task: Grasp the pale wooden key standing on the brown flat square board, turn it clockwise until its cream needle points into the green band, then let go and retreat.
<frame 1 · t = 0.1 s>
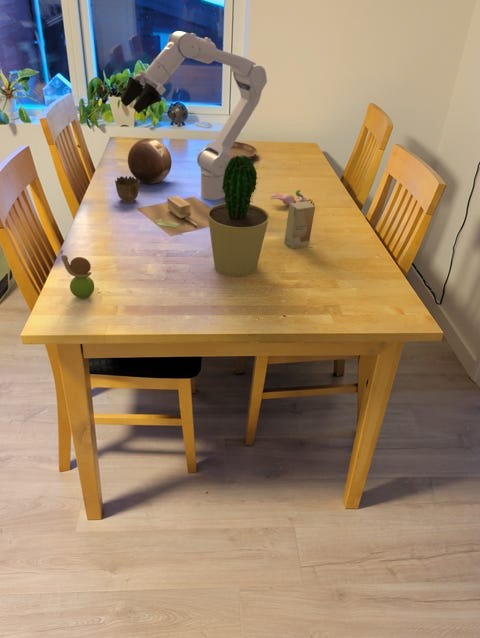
hand: (129, 107, 142), 32 cm above the table, tool tilted 50°, fingers open, 7 cm apart
plant saucer: (231, 157, 213), on the table
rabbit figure: (291, 206, 174), on the table
brown flat square board: (183, 218, 160), on the table
wooden sphere: (150, 182, 184), on the table
snail figurine: (81, 297, 122), on the table
cup: (128, 204, 167), on the table
potted cactus: (235, 267, 137), on the table
peg key: (184, 211, 157), point 3 cm above the table, hinge at 0.0°
skincare box: (296, 244, 150), on the table
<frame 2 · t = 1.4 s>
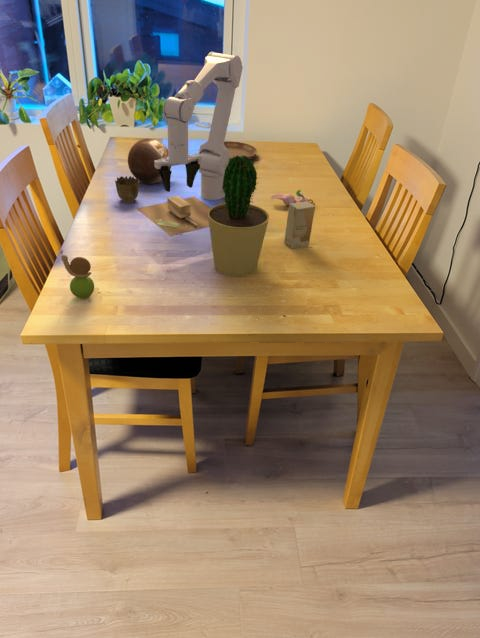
hand: (178, 188, 155), 9 cm above the table, tool pointing down, fingers open, 7 cm apart
nothing on the table moved.
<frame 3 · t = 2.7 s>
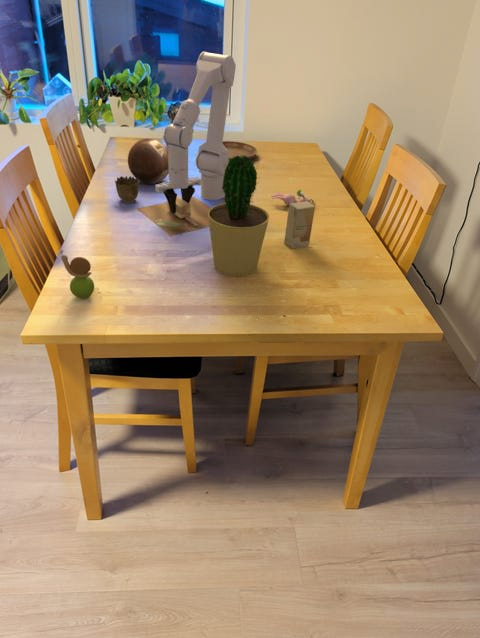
hand: (178, 210, 159), 2 cm above the table, tool pointing down, fingers closed on peg key, 4 cm apart
peg key: (184, 211, 157), point 3 cm above the table, hinge at 0.0°, touching gripper
everything else where it was.
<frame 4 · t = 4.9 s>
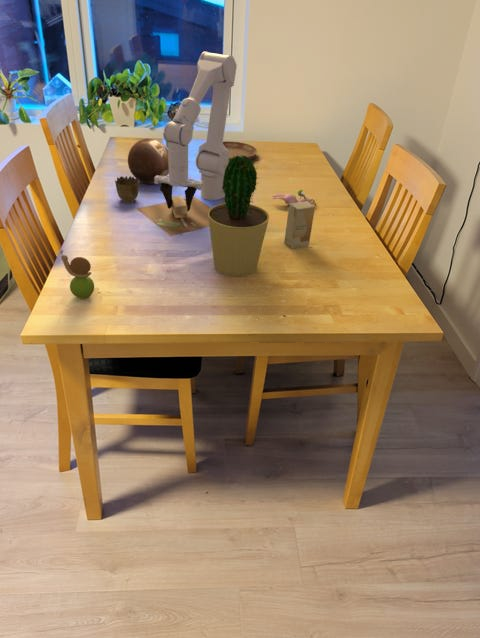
hand: (178, 208, 159), 3 cm above the table, tool pointing down, fingers closed on peg key, 5 cm apart
peg key: (180, 212, 156), point 3 cm above the table, hinge at -18.5°, touching gripper
everything else where it was.
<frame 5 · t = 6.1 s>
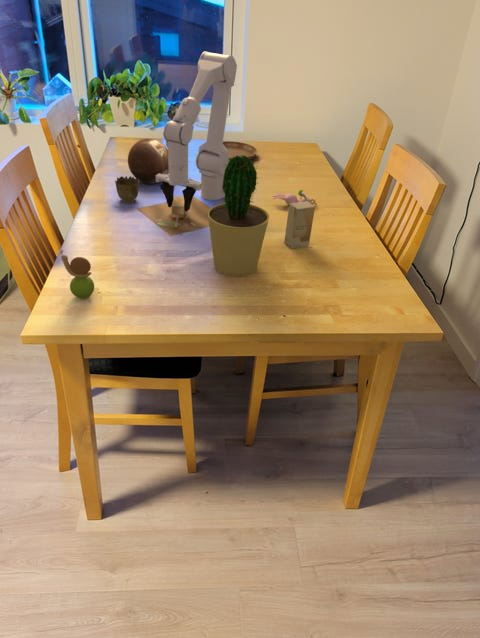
hand: (178, 208, 159), 3 cm above the table, tool pointing down, fingers closed on peg key, 5 cm apart
peg key: (177, 212, 156), point 3 cm above the table, hinge at -34.9°, touching gripper
everything else where it was.
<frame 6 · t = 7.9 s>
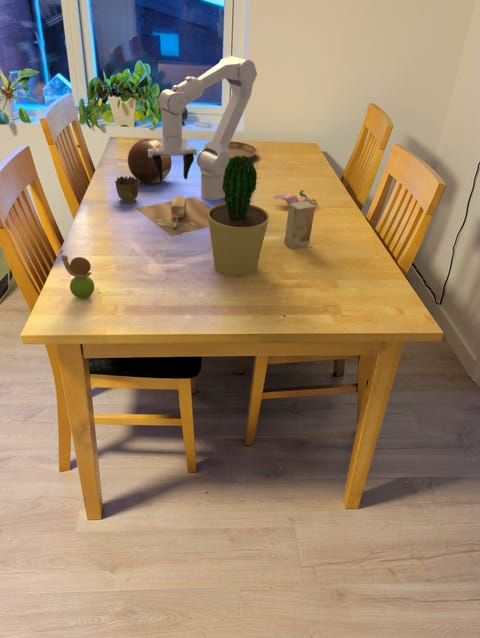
hand: (173, 178, 160), 10 cm above the table, tool pointing down, fingers open, 7 cm apart
peg key: (177, 212, 156), point 3 cm above the table, hinge at -36.2°
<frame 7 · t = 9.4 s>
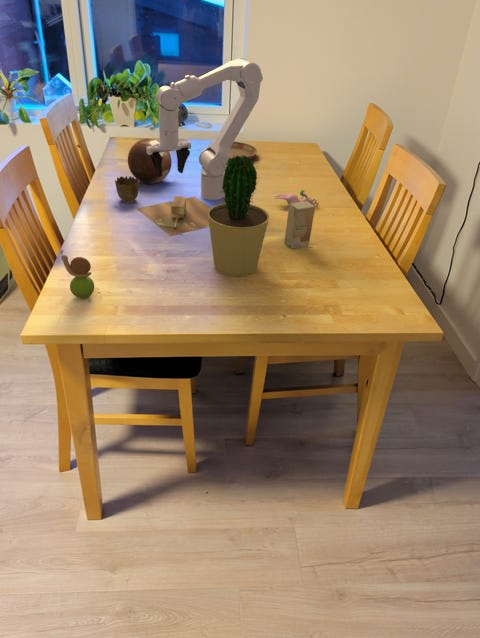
hand: (169, 174, 164), 10 cm above the table, tool pointing down, fingers open, 7 cm apart
at the end: peg key at -36° (first picture: +0°); the gripper is holding nothing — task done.
